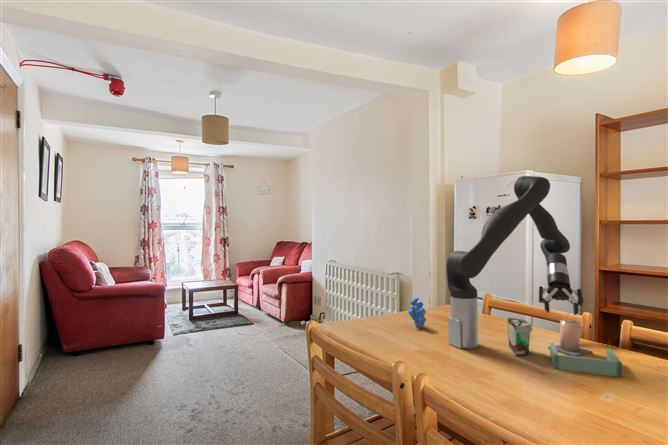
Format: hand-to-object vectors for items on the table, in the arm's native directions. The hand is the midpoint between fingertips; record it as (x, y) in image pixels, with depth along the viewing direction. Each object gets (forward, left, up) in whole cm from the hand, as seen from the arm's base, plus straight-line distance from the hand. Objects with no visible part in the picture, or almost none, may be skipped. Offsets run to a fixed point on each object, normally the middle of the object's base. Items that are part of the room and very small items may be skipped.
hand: (561, 312), depth 139 cm
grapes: (-37, +38, -10) cm, 54 cm away
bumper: (-16, -19, -10) cm, 26 cm away
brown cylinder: (-8, -8, -9) cm, 15 cm away
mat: (-8, -9, -10) cm, 15 cm away
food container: (-23, -3, -10) cm, 25 cm away
